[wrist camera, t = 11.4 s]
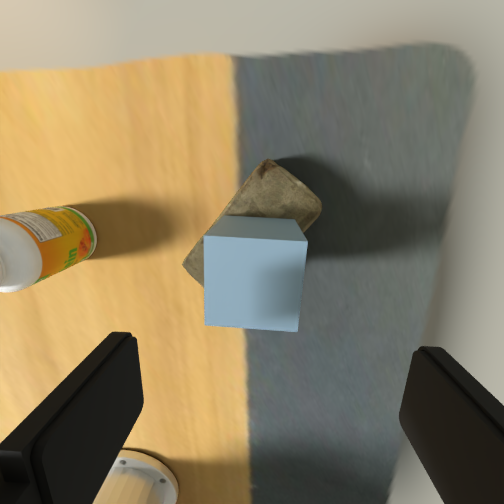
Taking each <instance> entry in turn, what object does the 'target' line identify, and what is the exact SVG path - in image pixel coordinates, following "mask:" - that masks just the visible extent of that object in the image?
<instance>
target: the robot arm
mask: <svg viewBox="0 0 504 504" xmlns="http://www.w3.org/2000/svg"><path fill="white" fill-rule="evenodd" d="M143 403H144V397H143V389H142V380H141V371H140V363H139V354H138V345H137V339H136V337H133V336H132V334H131V333H130V332H112V333H110V334H109V335H108V336H107V337H106V338H105V339H104V340H103V341H102V342H101V343H100V344H99V345H98V346H97V347H96V348H95V349H94V350H93V351H92V352H91V353H90V354H89V355H88V356H87V357H86V358H85V359H84V360H83V361H82V362H81V363H80V364H79V365H78V366H77V367H76V368H75V369H74V370H73V371H72V372H71V373H70V374H69V375H68V376H67V377H66V378H65V379H64V380H63V381H62V382H61V383H60V384H59V385H58V386H57V387H56V388H55V389H54V390H53V391H52V392H51V393H50V394H49V395H48V396H47V397H46V398H45V399H44V400H43V401H42V402H41V403H40V404H39V405H38V406H37V407H36V408H35V409H34V410H33V411H32V412H31V413H30V414H29V415H28V416H27V417H26V418H25V419H24V420H23V421H22V422H21V423H20V424H19V425H18V426H17V427H16V428H15V429H14V430H13V431H12V432H11V433H10V434H9V435H8V436H7V437H6V438H5V439H4V440H3V441H2V442H1V443H0V504H176V501H177V498H178V493H179V488H178V483H177V481H176V478H175V477H174V475H173V474H172V472H171V471H170V470H169V469H168V468H167V467H166V466H165V465H164V464H163V463H161V462H160V461H158V460H157V459H155V458H153V457H151V456H149V455H146V454H144V453H140V452H136V451H130V450H121V449H122V447H123V445H124V443H125V441H126V439H127V437H128V435H129V434H130V432H131V430H132V428H133V426H134V424H135V422H136V420H137V418H138V417H139V415H140V413H141V410H142V408H143ZM399 420H400V424H401V426H402V429H403V430H404V432H405V434H406V436H407V437H408V439H409V441H410V443H411V445H412V446H413V448H414V450H415V452H416V454H417V455H418V457H419V459H420V461H421V463H422V464H423V466H424V468H425V470H426V471H427V473H428V475H429V477H430V479H431V480H432V482H433V484H434V486H435V488H436V489H437V491H438V493H439V495H440V497H441V499H442V500H443V502H444V504H504V406H503V405H502V404H501V403H500V402H499V401H498V400H497V399H496V398H495V397H494V396H493V395H492V394H491V393H490V392H488V391H487V389H486V388H484V387H483V386H482V385H481V384H480V383H479V382H478V381H477V380H476V379H475V378H474V377H473V376H472V375H471V374H470V373H469V372H467V371H466V370H465V369H464V368H463V367H462V366H461V365H460V364H459V363H458V362H457V361H456V360H455V359H454V358H453V357H452V356H451V355H449V354H448V353H447V352H446V351H445V350H444V349H443V348H441V347H428V346H421V347H419V349H418V351H414V353H413V356H412V360H411V365H410V369H409V373H408V378H407V382H406V386H405V391H404V395H403V399H402V403H401V408H400V412H399Z"/></svg>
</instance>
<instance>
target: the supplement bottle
mask: <svg viewBox="0 0 504 504" xmlns="http://www.w3.org/2000/svg"><path fill="white" fill-rule="evenodd" d="M96 244H97V236H96V232H95V229H94V227H93V225H92V223H91V222H90V220H89V219H88V218H87V217H86V216H85V215H84V214H82V213H81V212H79V211H78V210H76V209H73V208H70V207H64V206H58V207H50V208H44V209H38V210H32V211H26V212H19V213H13V214H7V215H1V216H0V292H15V291H19V290H22V289H25V288H27V287H29V286H31V285H33V284H35V283H37V282H39V281H41V280H44V279H46V278H48V277H50V276H52V275H54V274H56V273H58V272H60V271H62V270H65V269H67V268H69V267H71V266H73V265H75V264H77V263H79V262H82V261H83V260H85V259H87V258H88V257H90V256H91V255H92V253H93V252H94V250H95V248H96Z"/></svg>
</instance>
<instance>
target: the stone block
mask: <svg viewBox="0 0 504 504" xmlns="http://www.w3.org/2000/svg"><path fill="white" fill-rule="evenodd" d="M321 210H322V203H321V201H320V200H319V199H318V197H317V196H316V195H315V194H314V193H313V192H311V190H310V189H309V188H308V187H307V186H306V185H305V184H304V183H302V182H301V181H300V180H299V179H297V178H296V177H295V176H293V175H292V174H291V173H290V172H288V171H287V170H286V169H284V168H283V167H281V166H279V165H278V164H276V163H275V162H274V161H273V160H271V159H266V160H264V161H262V162H261V163H260V164H259V165H258V166H257V167H256V169H255V170H254V171H253V172H252V173H251V175H250V176H249V177H248V178H247V180H246V181H245V182H244V184H243V185H242V186H241V188H240V189H239V190H238V192H237V193H236V194H235V196H234V197H233V198H232V200H231V201H230V202H229V204H228V205H227V206H226V208H225V209H224V210H223V212H222V213H221V214H220V216H219V217H218V218H217V219H216V221H215V222H214V223H213V225H212V226H211V227H210V229H211V228H212V227H213V226H214V225H215V224H216V223H217V222H218V221H219V220H220V219H221V218H222V217H223V216H224V215H226V216H244V217H262V218H280V219H295V220H296V222H297V224H298V226H299V227H300V229H301V231H302V232H303V233H304V232H305V231H306V230H307V229H308V228H309V227H310V225H311V224H312V223H313V222H314V221H315V220H316V219H317V218H318V216H319V215H320V214H321ZM210 229H209V230H210ZM209 230H208V231H209ZM208 231H207V232H208ZM207 232H206V233H207ZM206 233H205V234H206ZM205 234H204V235H205ZM204 235H203V236H202V238H201V239H200V240H199V241H198V242H197V244H196V245H195V246H194V248H193V249H192V250H191V252H190V253H189V254H188V256H187V257H186V258H185V260H184V262H183V264H182V265H183V267H184V268H185V269H186V270H187V272H188V273H189V274H190V275H191V276H192V277H193V278H194V279H195V280H196V281H197V282H198V283H200V284H201V285H202V287H203V288H204Z"/></svg>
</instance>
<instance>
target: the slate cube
mask: <svg viewBox="0 0 504 504" xmlns="http://www.w3.org/2000/svg"><path fill="white" fill-rule="evenodd" d="M307 245H308V241H307V239H306V238H305V236H304V234H303V232H302V231H301V229H300V227H299V226H298V224H297V222H296V220H295V219H280V218H262V217H244V216H226V215H224V216H223V217H222V218H221V219H220V220H219V221H218V222H217V223H216V224H215V225H214V226H213V227H212V228H211V229H210V230H209V231H208V232H207V233H206V234H205V235H204V309H205V325H208V326H222V327H236V328H249V329H263V330H277V331H290V332H297V331H298V323H299V314H300V305H301V297H302V288H303V279H304V271H305V262H306V253H307Z"/></svg>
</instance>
